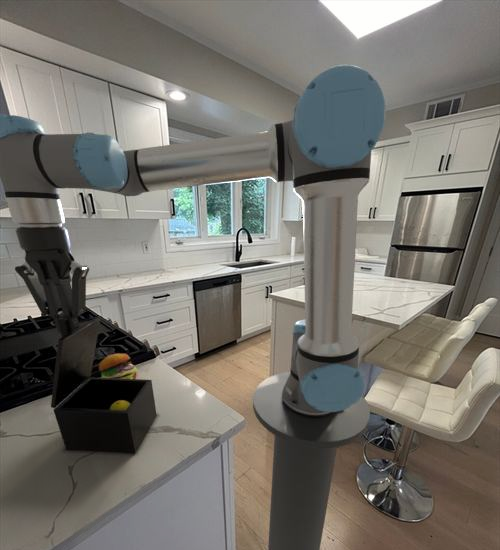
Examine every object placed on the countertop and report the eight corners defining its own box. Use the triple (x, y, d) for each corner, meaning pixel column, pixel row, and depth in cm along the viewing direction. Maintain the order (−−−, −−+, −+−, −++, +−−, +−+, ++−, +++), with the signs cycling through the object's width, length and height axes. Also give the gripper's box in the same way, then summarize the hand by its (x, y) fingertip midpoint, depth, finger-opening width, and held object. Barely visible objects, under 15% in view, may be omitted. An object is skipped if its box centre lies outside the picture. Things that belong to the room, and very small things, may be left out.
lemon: (132, 418, 69) (127, 391, 66) (140, 430, 65) (134, 402, 62) (109, 427, 66) (102, 399, 63) (115, 441, 62) (108, 412, 59)
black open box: (156, 415, 72) (151, 379, 67) (135, 453, 60) (127, 413, 56) (98, 412, 72) (89, 377, 68) (66, 450, 61) (53, 409, 56)
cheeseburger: (114, 394, 80) (103, 362, 77) (98, 389, 86) (87, 359, 84) (145, 378, 87) (135, 349, 85) (128, 375, 94) (119, 347, 91)
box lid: (100, 317, 62) (97, 316, 62) (62, 340, 50) (58, 339, 50) (90, 376, 68) (87, 375, 68) (54, 408, 56) (50, 407, 56)
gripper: (89, 225, 52) (112, 340, 61) (23, 225, 53) (55, 338, 62) (62, 226, 45) (92, 356, 54) (-14, 226, 46) (29, 354, 55)
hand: (73, 346), depth 58 cm, fingers closed
